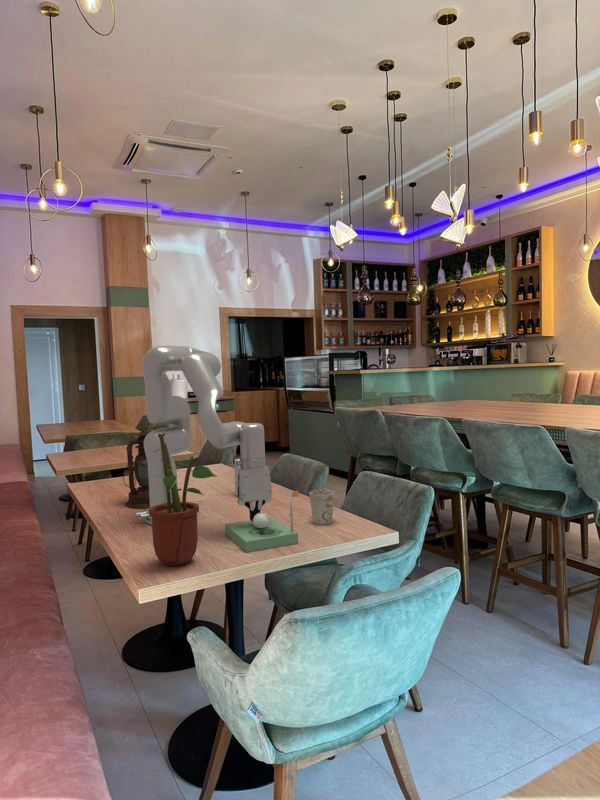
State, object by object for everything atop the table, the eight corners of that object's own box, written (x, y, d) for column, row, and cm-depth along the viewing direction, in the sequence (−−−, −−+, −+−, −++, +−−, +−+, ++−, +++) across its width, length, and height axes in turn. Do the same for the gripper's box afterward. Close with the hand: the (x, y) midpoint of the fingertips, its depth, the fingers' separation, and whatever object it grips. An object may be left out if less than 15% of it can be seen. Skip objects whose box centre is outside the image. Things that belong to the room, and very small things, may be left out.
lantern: (159, 494, 230) (156, 423, 228) (184, 501, 216) (181, 425, 214) (116, 503, 216) (112, 427, 215) (140, 511, 203) (136, 430, 201)
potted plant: (155, 574, 140) (149, 437, 138) (146, 556, 154) (140, 431, 152) (222, 563, 147) (217, 432, 145) (207, 546, 161) (203, 427, 159)
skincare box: (238, 497, 220) (237, 461, 219) (234, 494, 226) (233, 458, 225) (258, 495, 223) (257, 459, 222) (254, 492, 229) (253, 456, 228)
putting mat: (246, 552, 155) (244, 499, 154) (225, 533, 173) (223, 486, 172) (302, 542, 162) (301, 492, 161) (276, 525, 180) (275, 480, 179)
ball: (249, 518, 169) (253, 532, 167) (254, 511, 166) (258, 525, 163) (262, 516, 171) (266, 529, 169) (267, 509, 168) (272, 523, 166)
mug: (317, 527, 177) (317, 496, 176) (299, 518, 188) (298, 489, 188) (340, 523, 181) (339, 493, 180) (321, 514, 192) (320, 486, 191)
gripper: (233, 467, 164) (236, 528, 165) (280, 462, 170) (282, 521, 171) (226, 464, 170) (228, 522, 171) (271, 459, 177) (273, 515, 178)
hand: (255, 521), depth 171 cm, fingers closed
